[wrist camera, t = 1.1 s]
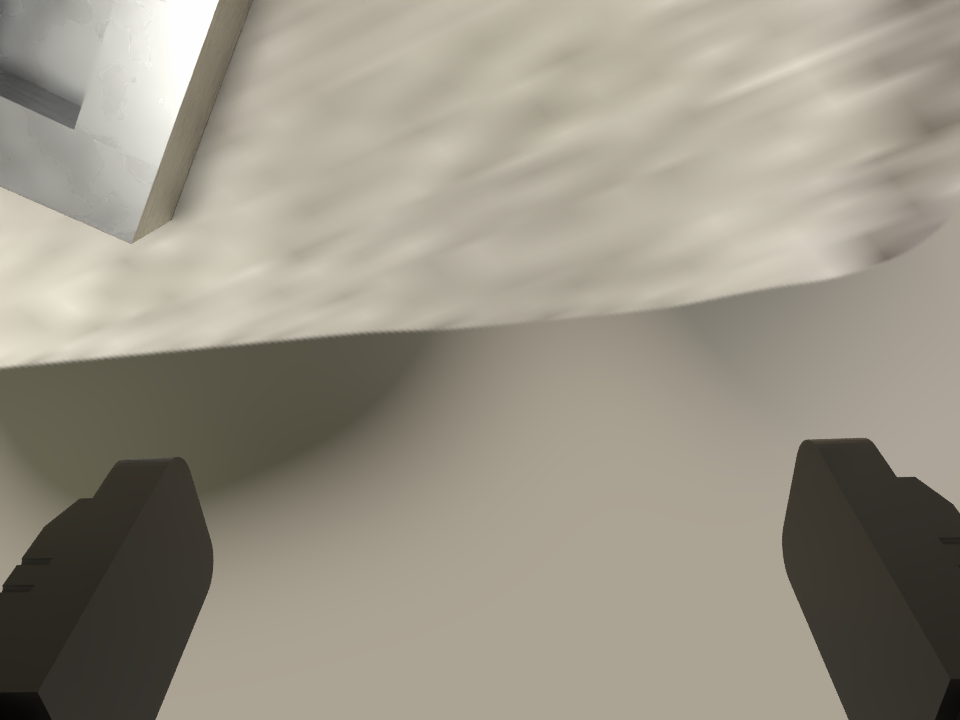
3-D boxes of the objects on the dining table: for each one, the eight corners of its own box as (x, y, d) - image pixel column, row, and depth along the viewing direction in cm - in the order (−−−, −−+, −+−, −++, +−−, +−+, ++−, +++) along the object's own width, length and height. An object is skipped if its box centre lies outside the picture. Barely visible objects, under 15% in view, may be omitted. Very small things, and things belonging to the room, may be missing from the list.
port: (-109, 95, 33) (-197, 100, 29) (-34, -207, 30) (-122, -258, 25) (170, 220, 36) (131, 244, 31) (269, -46, 32) (241, -64, 28)
